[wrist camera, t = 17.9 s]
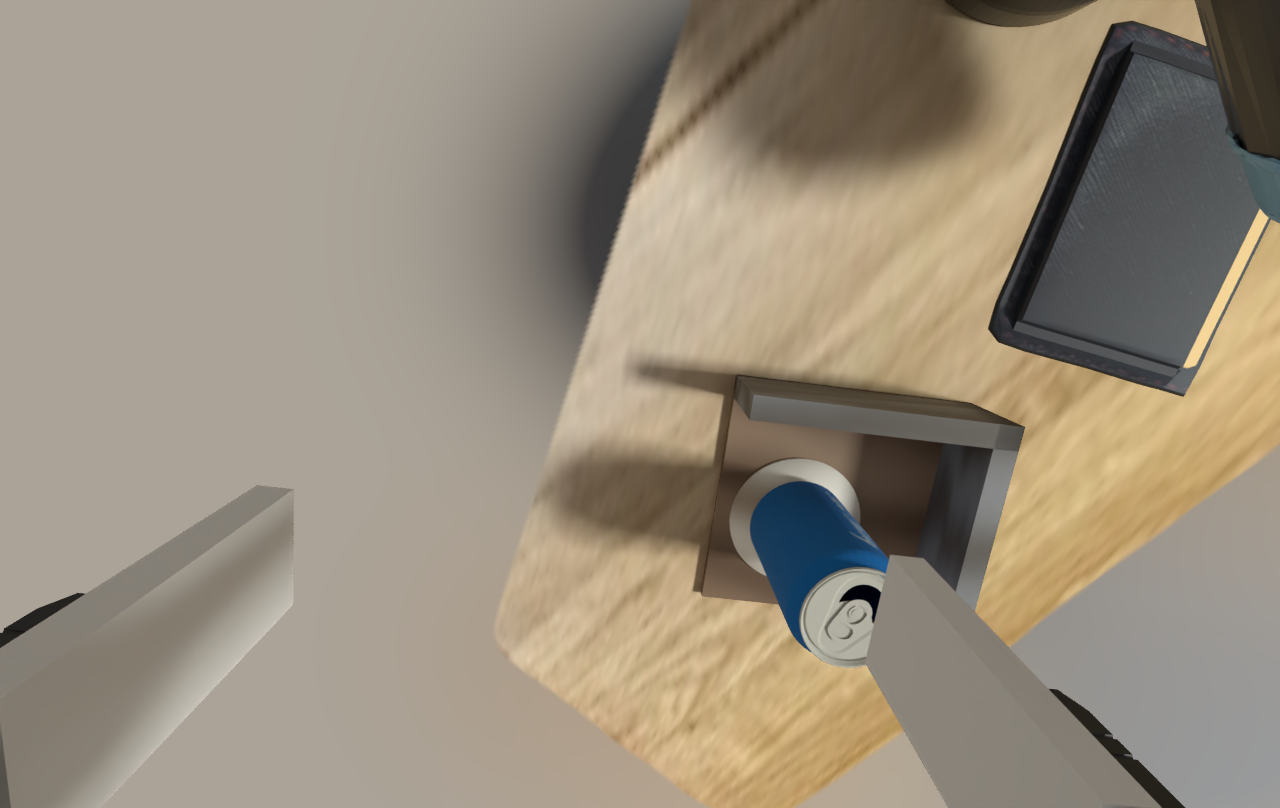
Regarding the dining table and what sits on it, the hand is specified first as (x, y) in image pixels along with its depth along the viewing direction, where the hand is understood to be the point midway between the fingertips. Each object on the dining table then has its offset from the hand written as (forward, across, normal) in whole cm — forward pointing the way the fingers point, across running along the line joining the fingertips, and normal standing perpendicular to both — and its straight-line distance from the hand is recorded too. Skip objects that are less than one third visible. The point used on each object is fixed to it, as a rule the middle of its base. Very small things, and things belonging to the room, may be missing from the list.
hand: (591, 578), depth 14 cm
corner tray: (+29, +16, -8) cm, 34 cm away
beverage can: (+28, +13, -10) cm, 33 cm away
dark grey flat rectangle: (+30, +32, +13) cm, 46 cm away
